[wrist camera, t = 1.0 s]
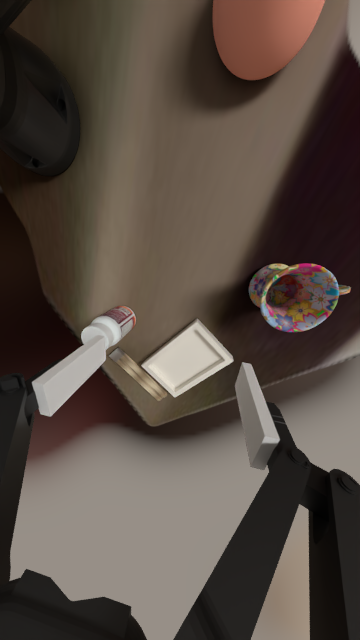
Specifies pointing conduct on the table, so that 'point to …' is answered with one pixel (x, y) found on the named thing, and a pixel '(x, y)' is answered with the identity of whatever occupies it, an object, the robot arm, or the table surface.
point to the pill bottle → (110, 326)
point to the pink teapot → (262, 33)
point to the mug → (295, 295)
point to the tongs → (138, 374)
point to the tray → (187, 359)
